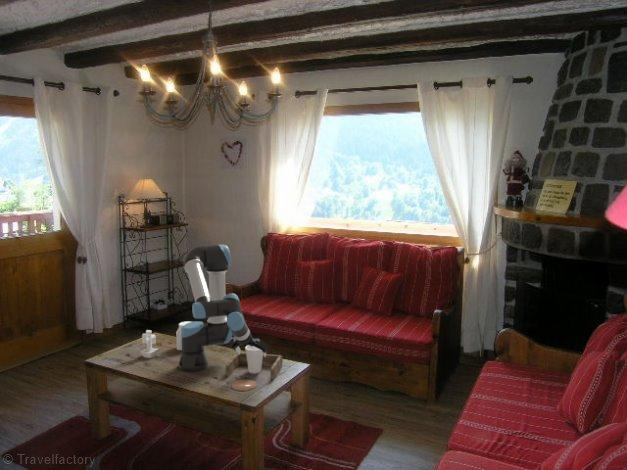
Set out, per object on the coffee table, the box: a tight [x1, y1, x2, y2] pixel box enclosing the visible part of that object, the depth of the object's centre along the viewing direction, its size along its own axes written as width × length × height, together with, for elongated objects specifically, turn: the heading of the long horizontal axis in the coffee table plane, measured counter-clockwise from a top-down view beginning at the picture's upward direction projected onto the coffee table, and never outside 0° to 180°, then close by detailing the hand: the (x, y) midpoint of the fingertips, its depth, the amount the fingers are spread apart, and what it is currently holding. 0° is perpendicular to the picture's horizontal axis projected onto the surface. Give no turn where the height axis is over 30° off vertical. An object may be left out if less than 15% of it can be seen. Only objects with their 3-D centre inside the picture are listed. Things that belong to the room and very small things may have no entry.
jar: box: [175, 321, 191, 351], centre depth 295 cm, size 12×10×15 cm
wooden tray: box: [225, 351, 283, 381], centre depth 263 cm, size 18×25×6 cm
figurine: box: [140, 329, 160, 359], centre depth 282 cm, size 7×9×15 cm
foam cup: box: [244, 345, 263, 374], centre depth 262 cm, size 10×9×13 cm
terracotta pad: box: [231, 378, 257, 392], centre depth 246 cm, size 12×12×1 cm
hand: (252, 353), depth 256 cm, fingers open, 13 cm apart
